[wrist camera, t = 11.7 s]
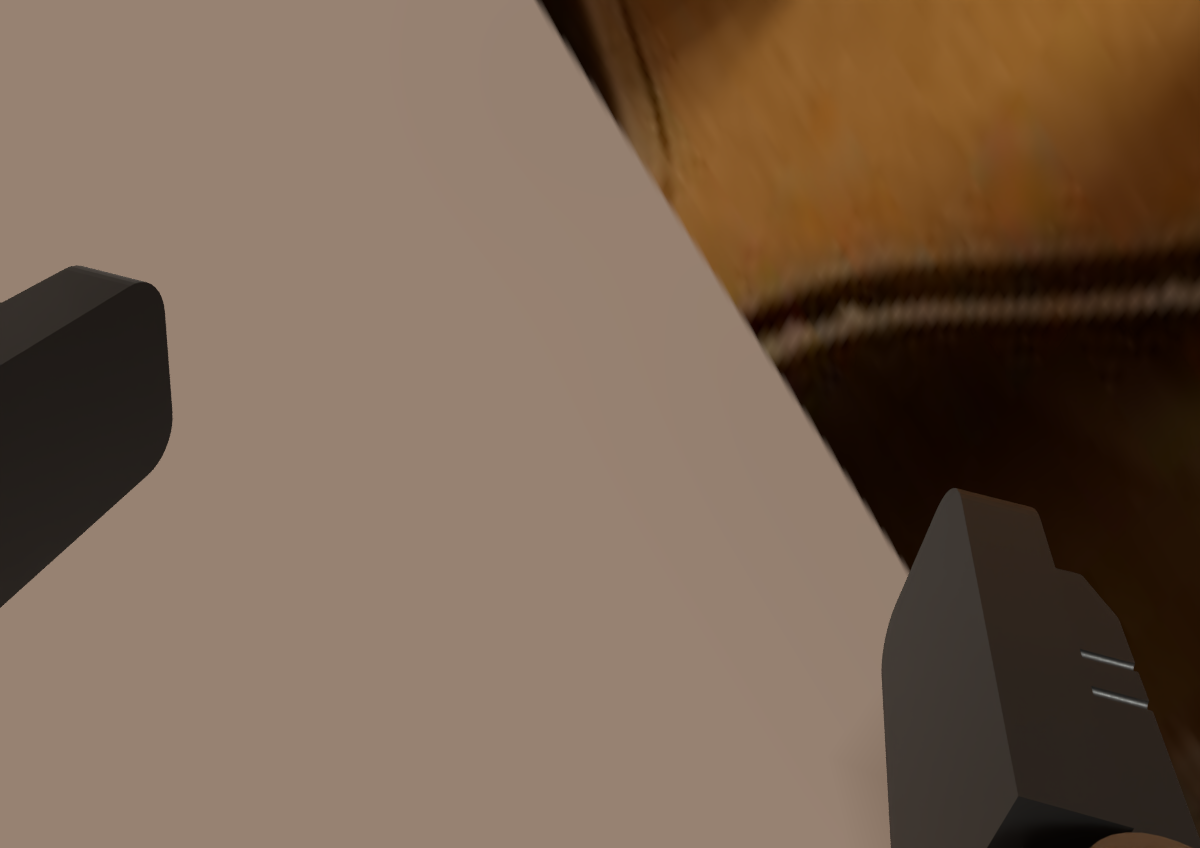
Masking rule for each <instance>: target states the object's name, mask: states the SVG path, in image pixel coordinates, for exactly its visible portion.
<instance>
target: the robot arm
mask: <svg viewBox="0 0 1200 848" xmlns="http://www.w3.org/2000/svg"><path fill="white" fill-rule="evenodd" d="M168 363H169V361H168V348H167V335H166V323H165V310H164V304H163V300H162V297H161V295H160V293H159V292H158V290H157V289H156V288H155V287H154V286H153V285H152V284H149V283H147V282H143V281H139V280H135V279H131V278H127V277H123V276H119V275H115V274H111V273H107V272H103V271H99V270H95V269H91V268H87V267H83V266H71V267H68V268H66V269H64V270H62V271H60V272H58V273H56V274H55V275H53V276H51V277H49V278H47V279H45V280H43V281H41V282H40V283H38V284H36V285H34V286H32V287H30V288H29V289H27V290H25V291H23V292H21V293H19V294H17V295H15V296H14V297H12V298H10V299H8V300H6V301H4V302H2V303H0V607H2V606H3V605H4V604H5V603H6V602H7V601H8V600H9V599H10V598H12V597H13V596H14V595H15V594H16V593H17V592H18V591H19V590H20V589H22V588H23V587H24V586H25V585H26V584H27V583H28V582H29V581H30V580H31V579H33V578H34V577H35V576H36V575H37V574H38V573H39V572H40V571H41V570H42V569H44V568H45V567H46V566H47V565H48V564H49V563H50V562H51V561H53V560H54V559H55V558H56V557H57V556H58V555H59V554H60V553H62V552H63V551H64V550H65V549H66V548H67V547H68V546H69V545H70V544H72V543H73V542H74V541H75V540H76V539H77V538H78V537H79V536H80V535H82V534H83V533H84V532H85V531H86V530H87V529H88V528H89V527H90V526H92V525H93V524H94V523H95V522H96V521H97V520H98V519H99V518H100V517H102V516H103V515H104V514H105V513H106V512H107V511H108V510H109V509H110V508H112V507H113V506H114V505H115V504H116V503H117V502H118V501H119V500H120V499H122V498H123V497H124V496H125V495H126V494H127V493H128V492H129V491H130V490H132V489H133V488H134V487H135V486H136V485H137V484H138V483H139V482H140V481H142V480H143V479H144V478H145V477H146V476H147V475H148V474H149V473H150V472H151V471H152V470H153V469H154V467H155V466H156V465H157V464H158V462H159V460H160V459H161V457H162V455H163V453H164V451H165V449H166V446H167V443H168V441H169V437H170V433H171V427H172V401H171V389H170V375H169V364H168ZM1134 664H1135V662H1134V660H1133V657H1132V654H1131V652H1130V649H1129V646H1128V643H1127V641H1126V638H1125V635H1124V633H1123V630H1122V627H1121V624H1120V622H1119V619H1118V618H1117V616H1116V615H1115V614H1114V613H1113V612H1112V610H1111V609H1110V608H1109V607H1108V606H1107V605H1106V603H1105V602H1104V601H1103V600H1102V599H1101V598H1100V596H1099V595H1098V594H1097V593H1096V592H1095V590H1094V589H1093V588H1092V587H1091V586H1090V585H1089V583H1088V582H1087V581H1086V580H1085V579H1084V577H1083V576H1082V575H1080V574H1076V573H1072V572H1068V571H1064V570H1061V569H1057V568H1055V566H1054V563H1053V559H1052V556H1051V553H1050V550H1049V546H1048V543H1047V540H1046V536H1045V533H1044V530H1043V527H1042V523H1041V520H1040V517H1039V515H1038V512H1037V511H1036V510H1035V509H1034V508H1032V507H1028V506H1024V505H1020V504H1016V503H1012V502H1009V501H1005V500H1001V499H997V498H993V497H989V496H985V495H981V494H977V493H973V492H969V491H965V490H961V489H957V488H952V489H950V490H949V491H948V492H947V493H946V494H945V496H944V497H943V499H942V501H941V502H940V504H939V506H938V508H937V510H936V513H935V515H934V517H933V520H932V522H931V524H930V527H929V529H928V531H927V534H926V536H925V538H924V540H923V543H922V545H921V547H920V550H919V552H918V554H917V557H916V559H915V561H914V564H913V566H912V568H911V570H910V573H909V575H908V577H907V580H906V582H905V584H904V587H903V589H902V591H901V594H900V596H899V598H898V601H897V603H896V605H895V608H894V610H893V613H892V616H891V619H890V623H889V626H888V629H887V634H886V638H885V643H884V649H883V657H882V690H883V709H884V727H885V746H886V764H887V783H888V802H889V820H890V839H891V848H1200V839H1199V837H1198V834H1197V831H1196V828H1195V826H1194V823H1193V820H1192V818H1191V815H1190V812H1189V809H1188V807H1187V804H1186V801H1185V799H1184V796H1183V793H1182V790H1181V788H1180V785H1179V782H1178V779H1177V777H1176V774H1175V771H1174V769H1173V766H1172V763H1171V760H1170V758H1169V755H1168V752H1167V750H1166V747H1165V744H1164V741H1163V739H1162V736H1161V733H1160V731H1159V728H1158V725H1157V722H1156V720H1155V717H1154V714H1153V711H1149V710H1147V705H1148V702H1149V701H1148V698H1147V695H1146V692H1145V690H1144V687H1143V684H1142V682H1141V679H1140V676H1139V673H1138V672H1134V671H1133V667H1134Z"/></svg>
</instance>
